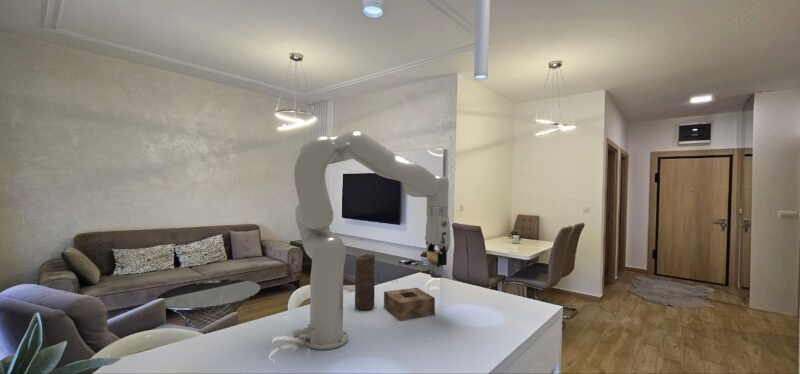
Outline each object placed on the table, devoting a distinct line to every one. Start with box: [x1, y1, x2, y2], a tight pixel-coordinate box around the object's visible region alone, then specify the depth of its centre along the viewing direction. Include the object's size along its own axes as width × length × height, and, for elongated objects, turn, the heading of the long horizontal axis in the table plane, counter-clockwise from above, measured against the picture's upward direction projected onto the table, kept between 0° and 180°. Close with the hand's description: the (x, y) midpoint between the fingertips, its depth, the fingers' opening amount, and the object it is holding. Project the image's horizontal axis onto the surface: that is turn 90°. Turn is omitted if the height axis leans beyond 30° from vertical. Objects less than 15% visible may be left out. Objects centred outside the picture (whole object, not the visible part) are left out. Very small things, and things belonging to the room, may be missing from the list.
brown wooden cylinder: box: [354, 253, 376, 310], centre depth 130 cm, size 8×7×20 cm
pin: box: [426, 249, 443, 279], centre depth 121 cm, size 7×7×8 cm
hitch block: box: [383, 287, 436, 321], centre depth 128 cm, size 14×14×6 cm
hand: (436, 262), depth 121 cm, fingers closed on pin, 7 cm apart
